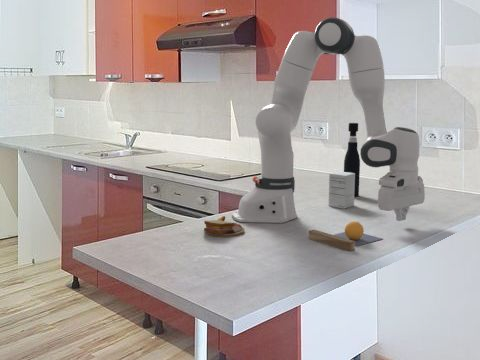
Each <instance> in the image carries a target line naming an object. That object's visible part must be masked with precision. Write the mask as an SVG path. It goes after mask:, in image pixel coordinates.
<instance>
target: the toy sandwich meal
mask: <svg viewBox="0 0 480 360" xmlns="http://www.w3.org/2000/svg"><path fill="white" fill-rule="evenodd" d="M204 225H205V228H204V227H203V228H204V229H203V231H204V232H205V233H206V234H207V235H209V236H212V237H219V238H229V237H236V236H240V235H242V234H243V232H245V228H244V227H243V226H242V225H241V224H239V223H237V222H232V221H226V216H222V217H220V218H218V219H214V220H204Z"/></svg>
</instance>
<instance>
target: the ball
mask: <svg viewBox="0 0 480 360" xmlns="http://www.w3.org/2000/svg"><path fill="white" fill-rule="evenodd" d="M344 232H345V234H346V236H347V237H348V238H349V239H351V240H358V239H360V238H361V237H362V235H363V234H364V227H363V225H362V224H361V223H360V222H358V221H350V222H348V223H347V224H346V225H345V228H344Z"/></svg>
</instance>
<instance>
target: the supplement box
mask: <svg viewBox="0 0 480 360" xmlns="http://www.w3.org/2000/svg"><path fill="white" fill-rule="evenodd" d="M354 191H355V173H350V172H344V171H341V170H339V171H335V172H331V173H329V179H328V206H329V207H332V208H338V209H347V208H351V207H353V206H355V197H354Z"/></svg>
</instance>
